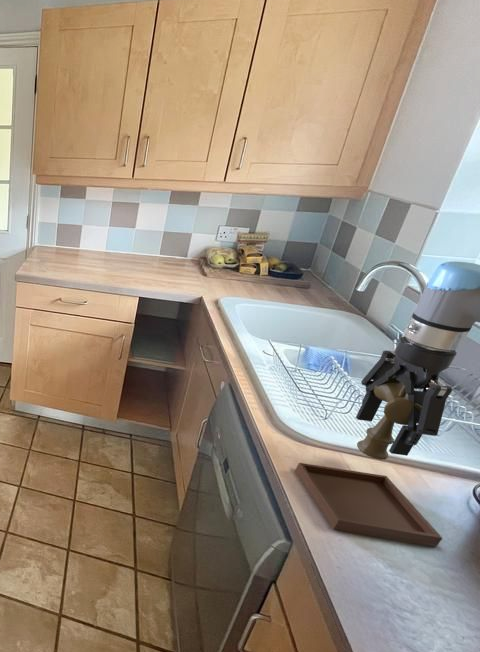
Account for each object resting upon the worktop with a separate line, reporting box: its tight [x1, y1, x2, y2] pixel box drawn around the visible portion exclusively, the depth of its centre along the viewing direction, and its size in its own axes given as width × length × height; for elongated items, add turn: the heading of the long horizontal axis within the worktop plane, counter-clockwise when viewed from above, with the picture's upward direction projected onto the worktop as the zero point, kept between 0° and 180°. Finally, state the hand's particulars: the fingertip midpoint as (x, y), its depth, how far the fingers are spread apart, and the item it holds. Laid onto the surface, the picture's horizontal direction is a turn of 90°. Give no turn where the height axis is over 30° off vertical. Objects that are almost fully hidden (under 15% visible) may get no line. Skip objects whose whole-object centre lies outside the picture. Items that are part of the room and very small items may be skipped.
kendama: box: [356, 382, 422, 461], centre depth 85 cm, size 6×10×20 cm, turn 146°
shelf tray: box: [294, 462, 443, 548], centre depth 81 cm, size 16×14×2 cm
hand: (379, 435), depth 87 cm, fingers closed on kendama, 10 cm apart
